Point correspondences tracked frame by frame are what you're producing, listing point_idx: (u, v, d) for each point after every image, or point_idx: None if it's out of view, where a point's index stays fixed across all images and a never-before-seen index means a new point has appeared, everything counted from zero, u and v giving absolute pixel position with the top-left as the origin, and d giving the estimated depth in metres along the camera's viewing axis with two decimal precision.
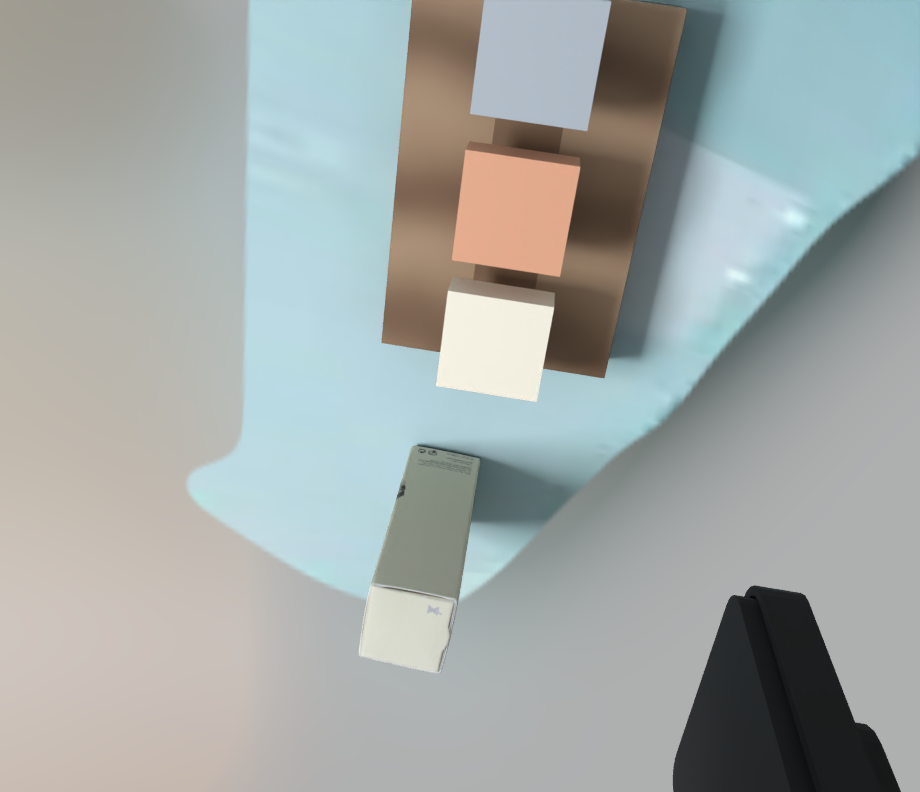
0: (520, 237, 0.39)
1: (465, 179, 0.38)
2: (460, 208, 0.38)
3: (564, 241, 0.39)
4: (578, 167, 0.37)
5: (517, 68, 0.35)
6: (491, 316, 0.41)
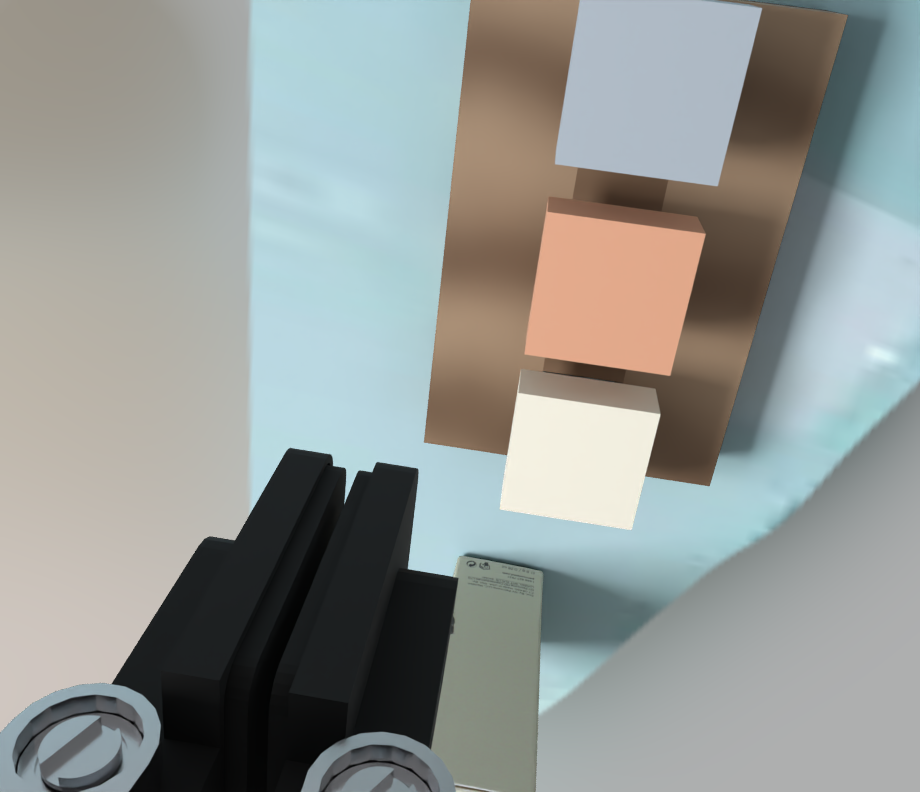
0: (618, 325, 0.29)
1: (546, 250, 0.28)
2: (538, 288, 0.28)
3: (678, 331, 0.29)
4: (702, 234, 0.27)
5: (623, 102, 0.26)
6: (576, 425, 0.31)
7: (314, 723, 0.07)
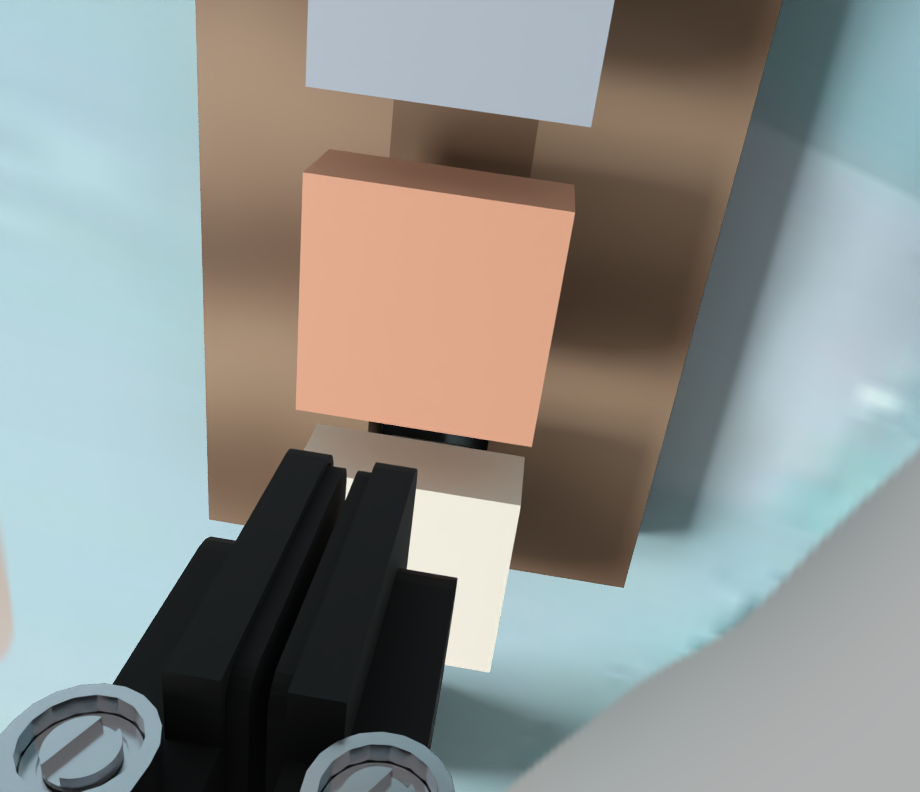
0: (441, 366, 0.17)
1: (309, 240, 0.16)
2: (304, 303, 0.17)
3: (540, 375, 0.17)
4: (570, 213, 0.16)
5: None
6: None
7: (313, 723, 0.07)
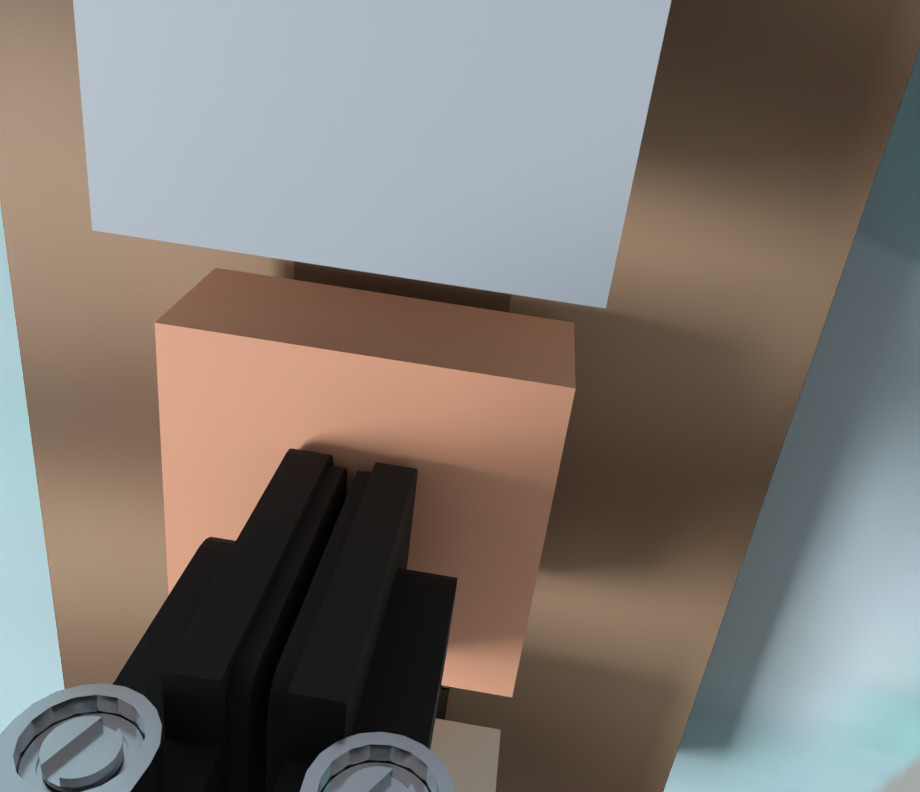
0: None
1: (172, 417, 0.11)
2: (171, 502, 0.11)
3: (523, 608, 0.12)
4: (568, 390, 0.10)
5: (268, 26, 0.07)
6: None
7: (313, 723, 0.07)
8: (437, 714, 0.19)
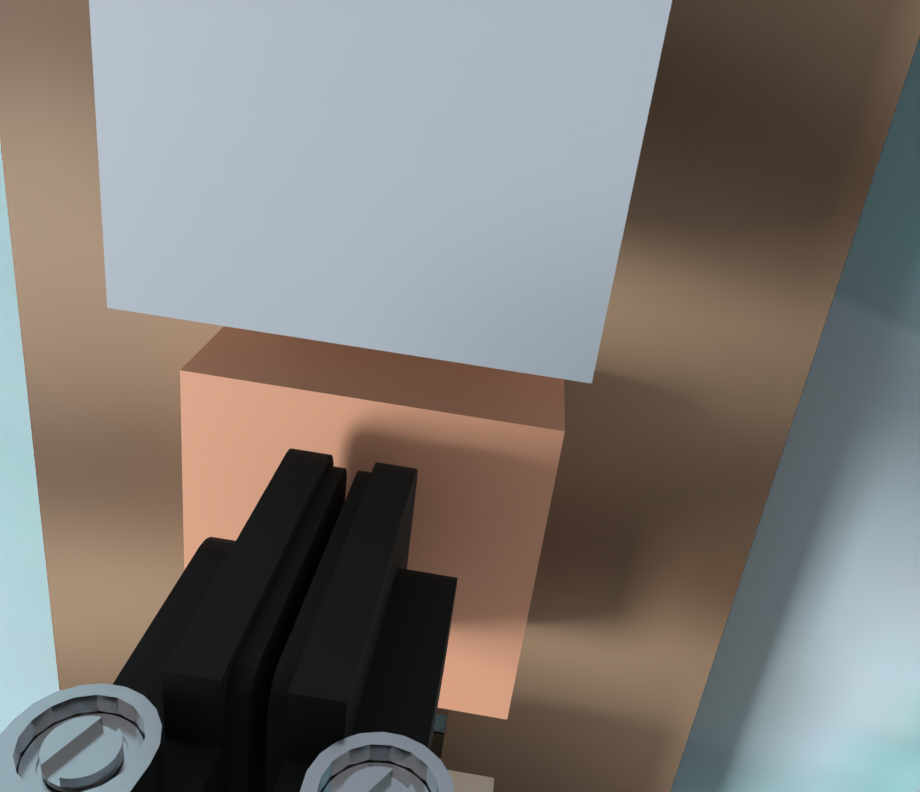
0: None
1: (193, 456, 0.12)
2: (190, 535, 0.12)
3: (517, 634, 0.12)
4: (558, 433, 0.11)
5: (276, 125, 0.08)
6: None
7: (313, 723, 0.07)
8: None
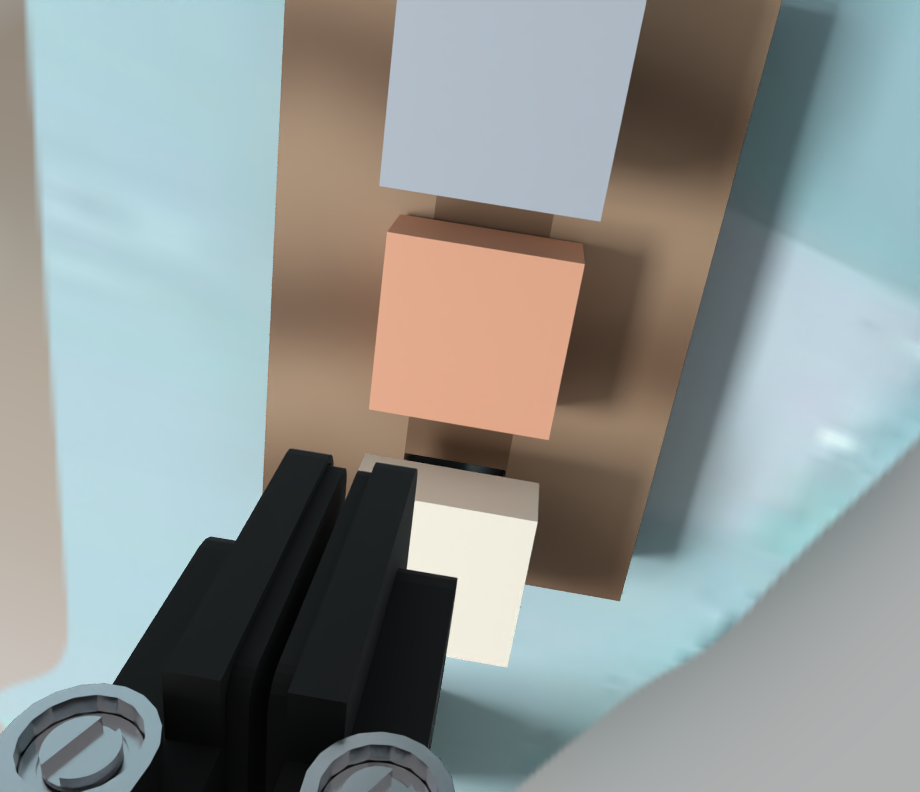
0: (482, 376, 0.23)
1: (388, 281, 0.22)
2: (381, 328, 0.23)
3: (556, 384, 0.23)
4: (581, 265, 0.21)
5: (467, 102, 0.18)
6: (427, 532, 0.23)
7: (313, 723, 0.07)
8: None
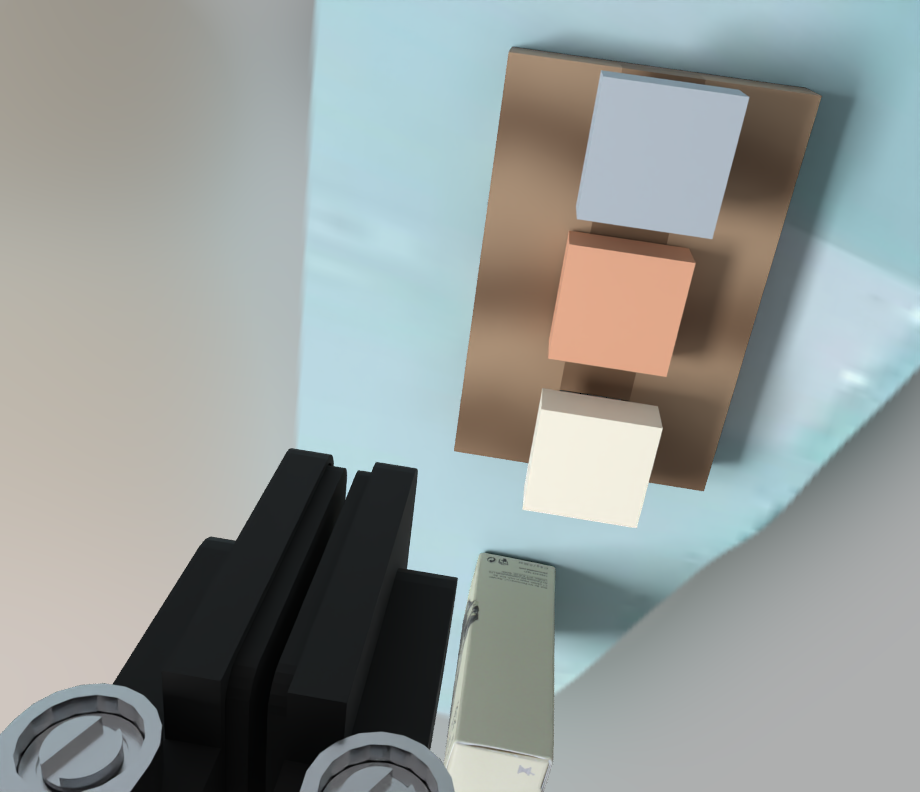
0: (625, 335, 0.35)
1: (567, 275, 0.35)
2: (560, 305, 0.35)
3: (673, 340, 0.35)
4: (693, 263, 0.34)
5: (634, 169, 0.31)
6: (590, 437, 0.36)
7: (313, 723, 0.07)
8: None
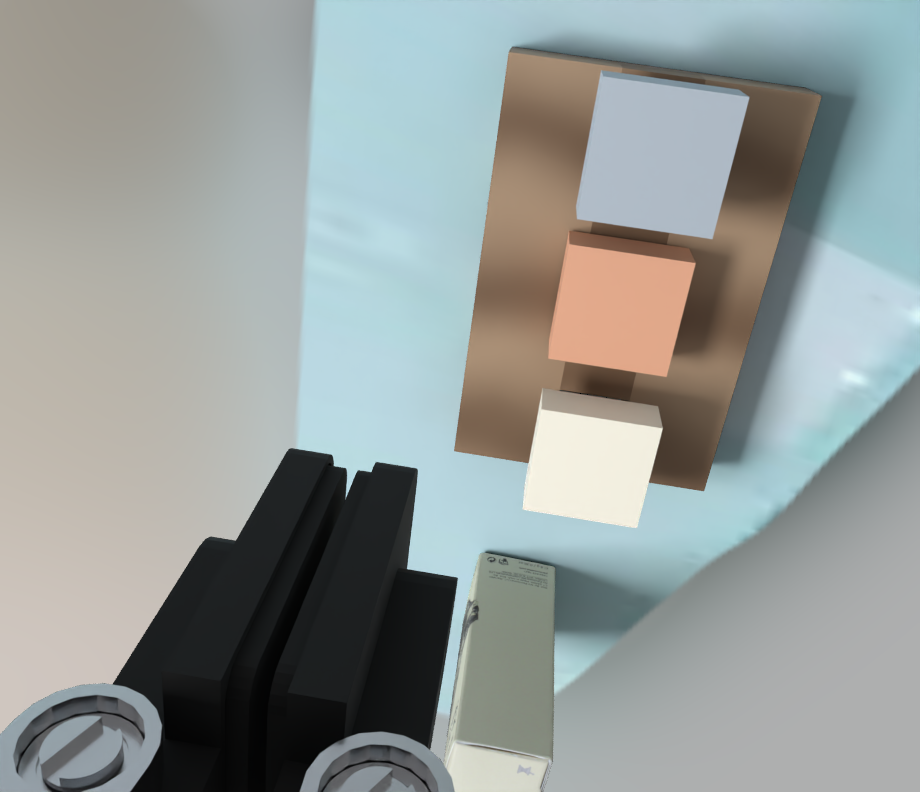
0: (625, 335, 0.35)
1: (567, 275, 0.35)
2: (560, 305, 0.35)
3: (673, 340, 0.35)
4: (693, 263, 0.34)
5: (635, 169, 0.31)
6: (590, 437, 0.36)
7: (313, 723, 0.07)
8: None
